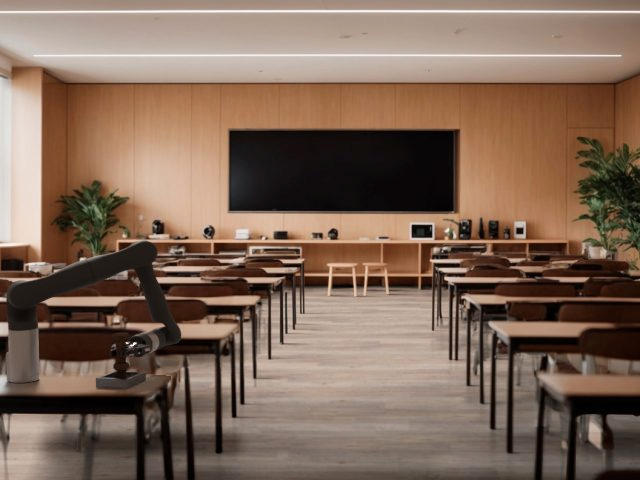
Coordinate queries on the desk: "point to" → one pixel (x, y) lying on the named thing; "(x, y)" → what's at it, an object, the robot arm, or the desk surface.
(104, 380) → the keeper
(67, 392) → the desk surface
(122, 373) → the bolt
